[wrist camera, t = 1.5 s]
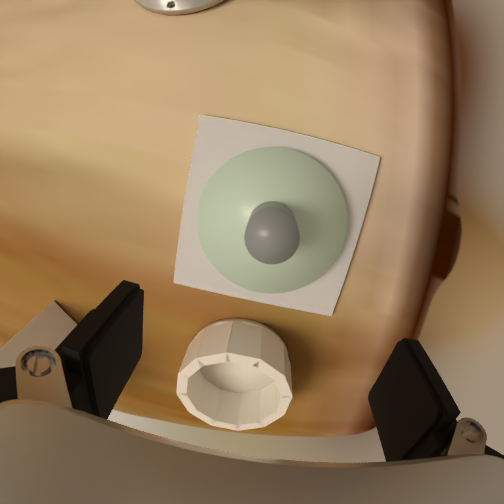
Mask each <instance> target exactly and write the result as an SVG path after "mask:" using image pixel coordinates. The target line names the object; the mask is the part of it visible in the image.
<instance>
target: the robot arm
mask: <svg viewBox="0 0 504 504" xmlns="http://www.w3.org/2000/svg"><path fill="white" fill-rule="evenodd" d="M134 1H135V2H136V3H137V4H139V5H140V6H141V7H143V8H144V9H146V10H149V11H151V12H154V13H159V14H165V15H179V14H188V13H193V12H197V11H201V10H204V9H207V8H209V7H212V6H214V5H216V4H218V3H220V2H223V1H224V0H134ZM174 6H175V7H174ZM172 7H173V8H172ZM143 303H144V290H142V289H140V286H139V284H136V283H132V282H129V281H125V280H123V281H122V282H121V283H120V284H119V285H118V286H117V287H116V288H115V289H114V290H113V291H112V292H111V293H110V294H109V295H108V296H107V297H106V298H105V299H104V300H103V301H102V302H101V303H100V305H99V306H98V307H97V308H96V309H93V310H91V311H90V312H89V313H88V314H87V315H86V316H85V317H84V318H83V319H82V320H81V321H80V323H79V324H78V325H77V326H76V327H75V328H74V329H73V330H72V331H71V332H70V333H69V334H68V336H67V337H66V338H65V339H64V340H63V341H62V342H61V343H60V344H59V345H58V347H57V348H56V349H55V350H53V349H51V348H49V347H45V346H33V347H29V348H27V349H25V350H23V351H22V352H21V353H20V354H19V355H18V357H17V359H16V364H15V365H16V366H12V367H6V368H0V504H504V455H502V454H500V453H499V452H497V451H495V450H493V449H492V448H490V447H488V446H487V445H486V440H487V438H486V437H487V435H486V432H485V430H484V428H483V427H482V425H481V424H479V423H478V422H477V421H475V420H473V419H471V418H462V419H460V420H459V421H458V422H457V420H456V418H457V416H458V415H459V414H460V413H461V412H460V410H459V409H458V407H457V405H456V403H455V401H454V400H453V398H452V396H451V394H450V392H449V391H448V389H447V387H446V385H445V384H444V382H443V380H442V379H441V377H440V375H439V373H438V372H437V370H436V368H435V367H434V365H433V363H432V362H431V360H430V358H429V357H428V355H427V354H426V352H425V350H424V349H423V347H422V346H421V344H420V342H419V341H418V340H415V339H408V338H404V339H402V340H401V341H399V342H398V343H397V344H396V346H395V348H394V350H393V352H392V354H391V355H390V357H389V359H388V361H387V363H386V365H385V366H384V368H383V370H382V372H381V373H380V375H379V377H378V379H377V380H376V382H375V384H374V385H373V387H372V389H371V390H370V392H369V396H368V400H369V403H370V407H371V410H372V413H373V417H374V420H375V424H376V427H377V430H378V434H379V437H380V441H381V445H382V448H383V452H384V455H385V459H386V462H370V463H328V462H306V461H292V460H281V459H272V458H264V457H256V456H249V455H242V454H236V453H231V452H225V451H220V450H214V449H210V448H205V447H200V446H196V445H191V444H187V443H183V442H179V441H175V440H171V439H168V438H164V437H161V436H157V435H153V434H150V433H146V432H143V431H139V430H137V429H133V428H130V427H127V426H124V425H121V424H118V423H115V422H113V421H110V420H107V419H108V417H109V415H110V413H111V411H112V409H113V407H114V405H115V403H116V401H117V400H118V398H119V396H120V394H121V392H122V390H123V388H124V387H125V385H126V383H127V381H128V379H129V377H130V376H131V374H132V372H133V370H134V368H135V367H136V365H137V363H138V361H139V359H140V357H141V354H142V335H143Z"/></svg>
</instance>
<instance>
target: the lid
mask: <svg viewBox="0 0 504 504" xmlns="http://www.w3.org/2000/svg"><path fill="white" fill-rule="evenodd" d="M196 222H197V232H198V237H199V241H200V244H201V247H202V249H203V251H204V253H205V255H206V257H207V258H208V260H209V261H210V263H211V264H212V265H213V266H214V268H215V269H216V270H217V271H218V272H219V273H220V274H221V275H222V276H224V277H225V278H226V279H228V280H229V281H230V282H232V283H234V284H236V285H238V286H240V287H242V288H245V289H247V290H251V291H254V292H260V293H270V294H276V293H285V292H290V291H294V290H297V289H300V288H302V287H305V286H307V285H309V284H311V283H312V282H314V281H315V280H317V279H318V278H319V277H321V276H322V275H323V274H324V273H325V272H326V271H327V270H328V269H329V268H330V267H331V266H332V264H333V263H334V262H335V260H336V259H337V257H338V255H339V253H340V252H341V249H342V247H343V244H344V241H345V237H346V233H347V224H348V219H347V209H346V203H345V200H344V197H343V194H342V192H341V190H340V188H339V186H338V184H337V182H336V181H335V179H334V178H333V176H332V175H331V174H330V173H329V172H328V171H327V170H326V169H325V168H324V167H323V166H322V165H321V164H319V163H318V162H317V161H315V160H314V159H312V158H311V157H309V156H307V155H305V154H303V153H301V152H298V151H295V150H291V149H287V148H281V147H264V148H257V149H253V150H249V151H246V152H243V153H241V154H238V155H236V156H235V157H233V158H231V159H229V160H228V161H227V162H225V163H224V164H223V165H222V166H220V167H219V168H218V169H217V170H216V171H215V173H214V174H213V175H212V176H211V178H210V179H209V180H208V182H207V184H206V185H205V187H204V189H203V191H202V194H201V196H200V199H199V203H198V208H197V216H196Z"/></svg>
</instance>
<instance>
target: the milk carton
mask: <svg viewBox="0 0 504 504" xmlns="http://www.w3.org/2000/svg"><path fill="white" fill-rule="evenodd" d="M77 325H78V324H76V323H75V322H74V321H73V320H72V319H71V318H70V317H69V316H68V315H67V314H66V313H65V312H64V311H63V310H62V309H61V308H60V307H59V305H58V304H57V303H56V302H55V301H53V302H52V303H51V304H49V305H48V306H47V307H46V308H45V309H44V310H42V311H41V312H40V313H39V314H38V315H37V316H36V317H35V318H33V319H32V320H31V321H30V322H29V323H28V324H27V325H26V326H25V327H23V328H22V329H21V330H20V331H19V332H18V333H17V334H16V335H15V336H14V337H13V338H12V339H11V340H9V341H8V342H7V343H6V344H5V345H4V346H3V347H2V348H1V349H0V368H6V367H12V366H16V365H15V364H16V359H17V357H18V355H19V354H20V353H21V352H22V351H23V350H25V349H27V348H29V347H33V346H45V347H49V348H51V349H53V350H55V349H56V348H57V347H58V345H59V344H60V343H61V342H62V341H63V340H64V339H65V338H66V337H67V336H68V334H69V333H70V332H71V331H72V330H73V329H74V328H75V327H76V326H77Z"/></svg>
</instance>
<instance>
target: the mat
mask: <svg viewBox="0 0 504 504" xmlns="http://www.w3.org/2000/svg"><path fill="white" fill-rule="evenodd" d="M264 147H281V148H287V149H291V150H295V151H298V152H301V153H303V154H305V155H307V156H309V157H311V158H312V159H314V160H315V161H317V162H318V163H319V164H321V165H322V166H323V167H324V168H325V169H326V170H327V171H328V172H329V173H330V174H331V175H332V176H333V178H334V179H335V181H336V182H337V184H338V186H339V188H340V190H341V192H342V194H343V197H344V200H345V203H346V209H347V219H348V224H347V233H346V237H345V241H344V244H343V247H342V249H341V252H340V253H339V255H338V257H337V259H336V260H335V262H334V263H333V264H332V266H331V267H330V268H329V269H328V270H327V271H326V272H325V273H324V274H323V275H322V276H321V277H319V278H318V279H317V280H315V281H314V282H312V283H311V284H309V285H307V286H305V287H302V288H300V289H297V290H294V291H290V292H285V293H276V294H270V293H260V292H254V291H251V290H247V289H245V288H242V287H240V286H238V285H236V284H234V283H232V282H230V281H229V280H228V279H226V278H225V277H224V276H222V275H221V274H220V273H219V272H218V271H217V270H216V269H215V268H214V266H213V265H212V264H211V263H210V261H209V260H208V258H207V257H206V255H205V253H204V251H203V249H202V247H201V244H200V241H199V237H198V232H197V222H196V216H197V208H198V203H199V199H200V196H201V194H202V191H203V189H204V187H205V185H206V184H207V182H208V180H209V179H210V178H211V176H212V175H213V174H214V173H215V171H216V170H217V169H218V168H219V167H220V166H222V165H223V164H224V163H225V162H227V161H228V160H229V159H231V158H233V157H235V156H236V155H238V154H241V153H243V152H246V151H249V150H253V149H257V148H264ZM379 161H380V157H379V156H376V155H373V154H370V153H367V152H364V151H361V150H357V149H354V148H351V147H347V146H344V145H340V144H337V143H333V142H330V141H326V140H322V139H319V138H315V137H311V136H307V135H303V134H299V133H295V132H291V131H286V130H282V129H277V128H273V127H268V126H263V125H258V124H253V123H248V122H243V121H237V120H232V119H226V118H220V117H213V116H207V115H200V116H199V121H198V125H197V130H196V136H195V141H194V146H193V151H192V157H191V162H190V168H189V174H188V180H187V186H186V192H185V198H184V205H183V211H182V218H181V225H180V233H179V240H178V248H177V256H176V265H175V273H174V283H177V284H181V285H185V286H189V287H194V288H198V289H202V290H207V291H211V292H215V293H220V294H224V295H229V296H233V297H238V298H243V299H247V300H252V301H257V302H262V303H267V304H271V305H276V306H281V307H286V308H292V309H297V310H302V311H307V312H313V313H318V314H323V315H329V316H332V313H333V311H334V308H335V305H336V302H337V300H338V297H339V294H340V291H341V289H342V286H343V283H344V280H345V277H346V274H347V271H348V268H349V265H350V262H351V259H352V256H353V253H354V250H355V247H356V244H357V240H358V237H359V234H360V231H361V227H362V224H363V220H364V217H365V214H366V210H367V207H368V203H369V199H370V196H371V192H372V188H373V184H374V181H375V177H376V173H377V169H378V165H379Z"/></svg>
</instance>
